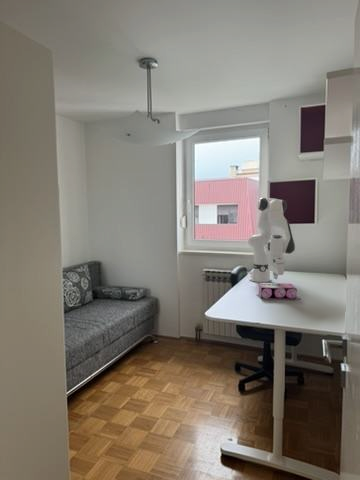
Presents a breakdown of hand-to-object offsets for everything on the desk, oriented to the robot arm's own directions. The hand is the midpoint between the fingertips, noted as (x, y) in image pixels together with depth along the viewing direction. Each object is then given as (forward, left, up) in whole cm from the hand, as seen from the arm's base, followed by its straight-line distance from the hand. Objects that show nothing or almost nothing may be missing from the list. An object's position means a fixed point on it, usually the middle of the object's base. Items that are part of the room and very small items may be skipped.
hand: (275, 278), depth 225 cm
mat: (+5, 0, -12) cm, 13 cm away
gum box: (-2, +1, -7) cm, 8 cm away
